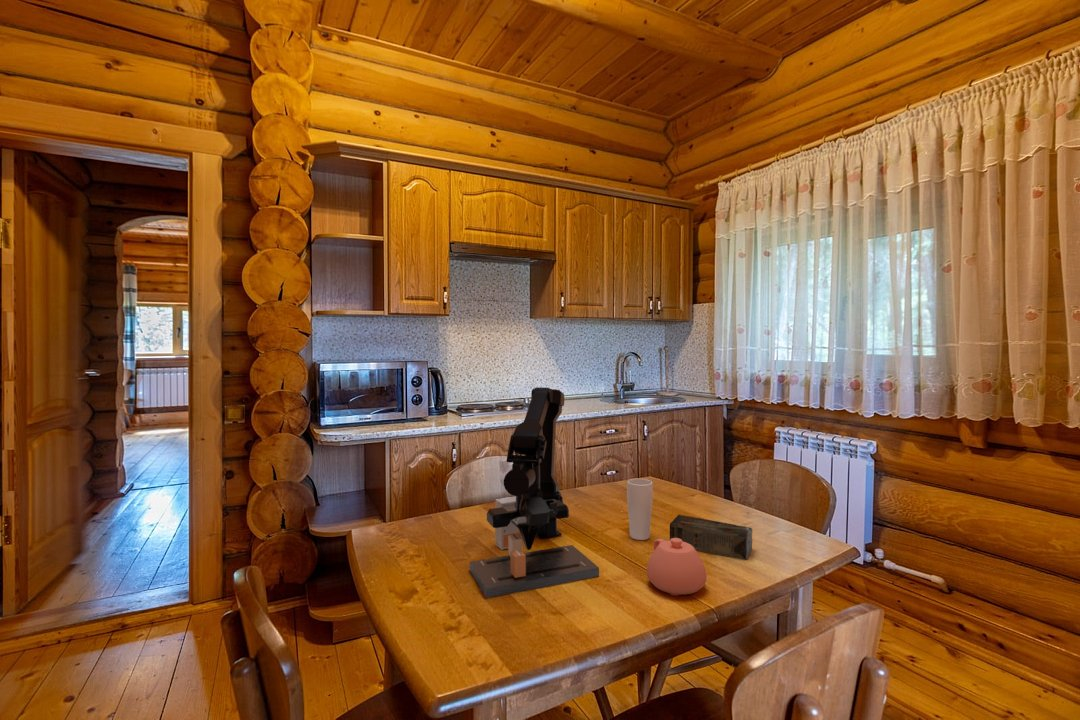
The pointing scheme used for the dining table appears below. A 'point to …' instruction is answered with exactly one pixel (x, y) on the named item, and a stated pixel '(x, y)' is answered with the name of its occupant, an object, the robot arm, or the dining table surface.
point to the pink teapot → (676, 567)
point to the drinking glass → (639, 507)
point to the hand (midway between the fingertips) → (528, 549)
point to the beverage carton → (713, 536)
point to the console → (532, 571)
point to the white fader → (514, 543)
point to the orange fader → (518, 563)
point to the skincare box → (511, 529)
